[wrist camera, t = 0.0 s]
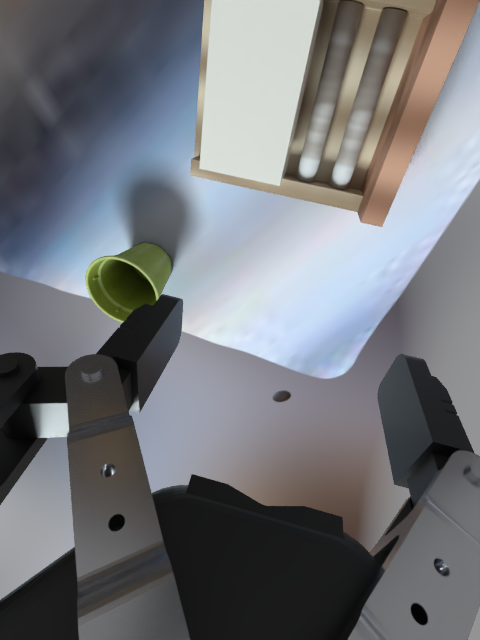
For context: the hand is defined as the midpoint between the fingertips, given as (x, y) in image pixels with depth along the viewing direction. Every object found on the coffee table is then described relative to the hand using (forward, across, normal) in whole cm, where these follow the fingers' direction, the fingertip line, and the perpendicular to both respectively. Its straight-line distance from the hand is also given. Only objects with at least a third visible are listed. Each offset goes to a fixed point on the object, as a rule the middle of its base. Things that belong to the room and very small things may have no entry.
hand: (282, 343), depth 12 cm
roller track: (+29, +2, -7) cm, 30 cm away
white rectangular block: (+26, +6, -7) cm, 28 cm away
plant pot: (+30, +18, +15) cm, 38 cm away
